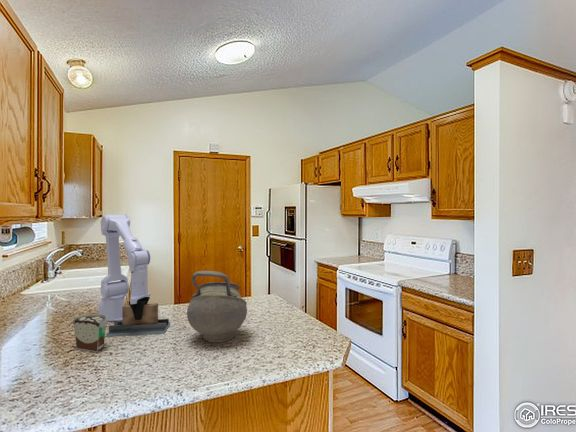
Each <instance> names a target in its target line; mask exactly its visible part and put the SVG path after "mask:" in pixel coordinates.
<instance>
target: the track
mask: <svg viewBox="0 0 576 432" xmlns="http://www.w3.org/2000/svg"><path fill="white" fill-rule="evenodd" d="M170 325H171V321H170V319H169V318H158V323H151V324H131V325H123V320H120V321H113V325H109V326H108V332H107V333H105V338H107V337H108V338H109V337H123V336H125V335H128V336H141V335H142V336H145V335H160V334H161V335H162V334H165V333H166V331H167V330H168V329H169V327H170Z"/></svg>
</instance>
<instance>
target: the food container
mask: <svg viewBox="0 0 576 432" xmlns="http://www.w3.org/2000/svg"><path fill="white" fill-rule="evenodd" d="M108 324H109V321H108V320H107V318H106V316H105V315H100V314H99V313H95V314H85V315H81V316H76V317H73V320H72V325H73V326H74V327H73V328H74V339H75V348H76V350H83V351H86V352H87V351H88V352H93V353H99V352H101V351H102V350H104V348H105V338H106V326H107V325H108Z"/></svg>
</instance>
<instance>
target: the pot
mask: <svg viewBox="0 0 576 432" xmlns="http://www.w3.org/2000/svg"><path fill="white" fill-rule="evenodd" d="M196 277H212V278H213V277H214V278H215V277H216V278H220V279H223V280H224V281H214V282H213V281H212V282H205V283H203V284H201V285H199V284H198V283H197V282H198V281H196ZM191 281H192V284H193V285H194V287H195V289H196V292H195V293H194V294H192V295H191V297H192V298H191V299H190V300H189V302H188V303H189V304H188V306H187V308H186V309H187V310H186V317H187V321H188V323H189V325H190V327H191V328H192V329H193V330H195V331H196V332H197V333H199V334H201V335H202V337H203V339H204V341H207V342H211V343H221V342H228V341H229V340H231V339H232V338H233V337H234V336H235V335H234V333H235V331H237V330H238V329H240V328H241V326H242V325H243V324H244V323H245V322H244V321H246V318H247V314H248V308H247V301H246V300H245V299H243V297H242V295H241V294H240V293H239V290H240V286H239V285H238V284H236V283H233V282H230V278H229V276H228V275H227V274H225V273H223V272H220V271H215V270H199V271H196V272H194V273H193V274H192V276H191Z"/></svg>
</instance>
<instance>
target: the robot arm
mask: <svg viewBox="0 0 576 432" xmlns="http://www.w3.org/2000/svg"><path fill="white" fill-rule="evenodd" d="M130 226H131V219H130V217H129V215H128V214H104V215H103V216H102V217H101V219H100V232H101V235H102V236H105V243H106V244H105V245H106V246H105V247H106V260H107V273H108V274H107V275H106V276H105V277H104V278H103V279H102V280H101V282H100V289H99V290H100V295H101V297H102V298H100V300H99V301H98V302H99V303H98V314H100V315H105V316H106V318H107V320H108V322H115V321H123V320H122V307H123V306H124V305H126V300H125V299H126V297H127V295H128V294H129V291H131V293H130V299H129V301H128V305H130V307H131V308H132V311H133V314H134V318H135V320H141V319H142V314H143V308H144V305H145V304H149V300H150V298H151V296H152V293H151V292H149V288H148V283H149V282H148V280H149V279H148V278H149V277H148V265H150V263H151V254H150V252H149V250H148V249H146V248H143V246H142V245H141V243H140V241H139V239H138V238H137V237H135V236H133V233H132V230H131V229H130ZM120 237H121V239H122V241H123V242H122V246H123V249H124V251H125V252H126V254H127V264H128V266H129V267H128V268H129V271H130V284H129V280H128V277H127V276H126V275H124V274H122V267H121V265H122V263H121V252H120V251H121V249H120V240H119V239H120ZM130 289H131V290H130Z"/></svg>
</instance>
